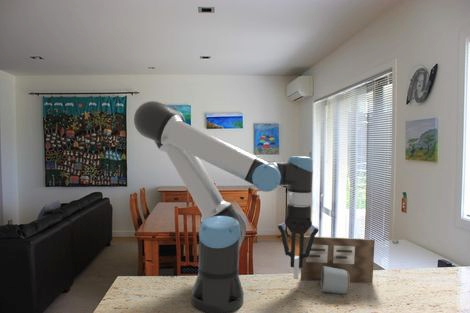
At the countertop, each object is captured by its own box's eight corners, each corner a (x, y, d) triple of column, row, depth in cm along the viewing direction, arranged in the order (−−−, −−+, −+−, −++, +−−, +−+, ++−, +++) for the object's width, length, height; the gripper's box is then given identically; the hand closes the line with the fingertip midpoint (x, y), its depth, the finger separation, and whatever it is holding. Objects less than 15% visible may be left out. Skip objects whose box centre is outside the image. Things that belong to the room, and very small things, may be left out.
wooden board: (301, 280, 108) (303, 236, 107) (300, 279, 109) (302, 236, 108) (372, 284, 107) (375, 240, 106) (371, 282, 108) (373, 239, 107)
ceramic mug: (350, 298, 96) (351, 273, 96) (322, 295, 97) (323, 270, 97) (343, 284, 106) (344, 261, 106) (318, 281, 108) (319, 259, 107)
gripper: (319, 204, 103) (316, 275, 104) (279, 201, 106) (276, 270, 107) (320, 208, 96) (317, 284, 97) (277, 205, 99) (274, 279, 100)
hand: (296, 277), depth 102 cm, fingers closed
